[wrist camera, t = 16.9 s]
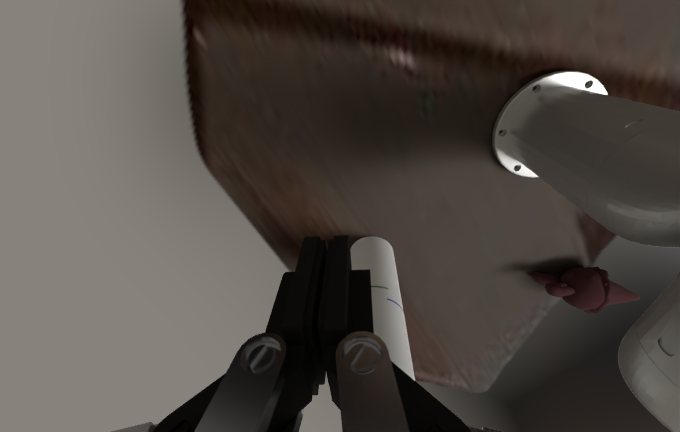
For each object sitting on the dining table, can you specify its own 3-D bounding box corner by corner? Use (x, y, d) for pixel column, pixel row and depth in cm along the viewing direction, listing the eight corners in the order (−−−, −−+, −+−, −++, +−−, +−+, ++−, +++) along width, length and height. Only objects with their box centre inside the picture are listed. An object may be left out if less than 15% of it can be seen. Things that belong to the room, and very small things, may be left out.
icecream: (673, 288, 40) (561, 270, 41) (649, 332, 42) (543, 314, 43) (630, 266, 47) (534, 250, 48) (612, 305, 49) (520, 290, 50)
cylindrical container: (375, 276, 50) (389, 452, 29) (341, 257, 49) (328, 430, 27) (402, 250, 47) (439, 425, 26) (366, 228, 45) (375, 398, 24)
